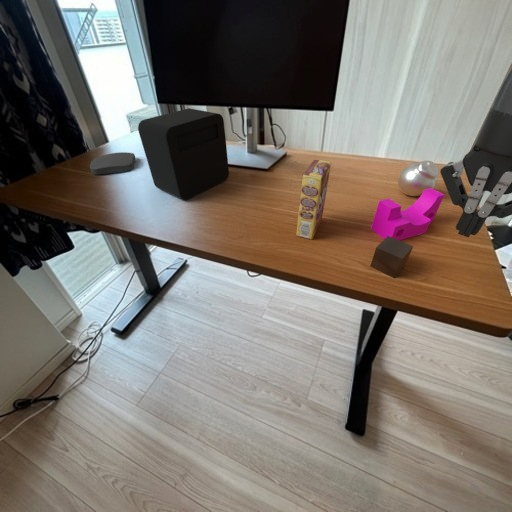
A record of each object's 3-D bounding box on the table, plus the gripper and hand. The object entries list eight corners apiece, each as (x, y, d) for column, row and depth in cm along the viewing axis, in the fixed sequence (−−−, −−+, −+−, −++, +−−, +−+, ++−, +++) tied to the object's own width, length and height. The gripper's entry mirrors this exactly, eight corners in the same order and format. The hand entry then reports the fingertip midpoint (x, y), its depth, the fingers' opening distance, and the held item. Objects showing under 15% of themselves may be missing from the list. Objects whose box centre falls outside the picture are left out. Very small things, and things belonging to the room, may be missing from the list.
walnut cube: (405, 265, 54) (413, 246, 51) (394, 278, 52) (402, 258, 48) (381, 254, 57) (388, 235, 54) (369, 266, 54) (376, 246, 51)
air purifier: (201, 168, 96) (190, 106, 83) (230, 178, 89) (223, 111, 76) (153, 189, 85) (131, 120, 72) (181, 203, 77) (164, 129, 64)
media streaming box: (133, 171, 96) (130, 163, 94) (90, 176, 94) (86, 168, 92) (137, 157, 107) (135, 149, 105) (98, 161, 105) (95, 154, 103)
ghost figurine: (409, 205, 72) (423, 169, 66) (387, 190, 79) (397, 156, 73) (437, 199, 74) (454, 164, 67) (413, 185, 81) (426, 151, 74)
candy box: (313, 240, 62) (322, 177, 52) (295, 236, 63) (300, 174, 53) (323, 221, 68) (332, 161, 58) (306, 217, 69) (312, 158, 59)
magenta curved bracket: (389, 243, 60) (400, 214, 55) (370, 228, 64) (379, 200, 60) (440, 228, 64) (454, 199, 59) (419, 215, 68) (431, 187, 63)
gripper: (456, 105, 32) (410, 227, 43) (620, 121, 24) (513, 265, 35) (475, 95, 36) (428, 209, 47) (622, 106, 28) (524, 240, 39)
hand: (465, 233), depth 41 cm, fingers closed
